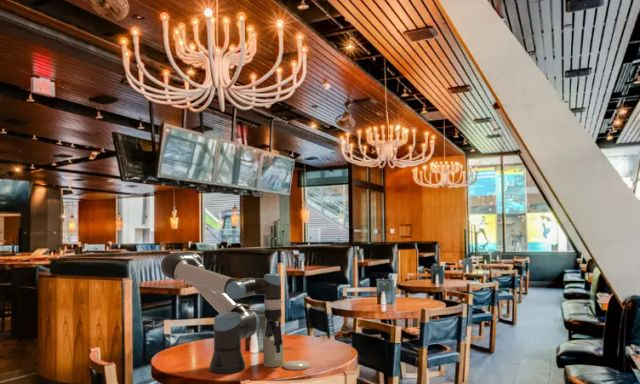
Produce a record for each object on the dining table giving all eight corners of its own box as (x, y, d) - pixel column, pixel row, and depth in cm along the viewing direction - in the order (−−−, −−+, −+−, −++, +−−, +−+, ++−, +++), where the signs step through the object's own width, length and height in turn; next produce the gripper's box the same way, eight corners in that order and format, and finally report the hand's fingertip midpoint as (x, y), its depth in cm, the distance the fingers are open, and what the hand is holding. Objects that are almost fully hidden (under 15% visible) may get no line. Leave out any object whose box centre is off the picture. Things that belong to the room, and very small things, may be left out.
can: (274, 368, 223) (273, 340, 224) (258, 365, 229) (258, 337, 230) (288, 363, 230) (287, 336, 231) (272, 360, 236) (272, 334, 237)
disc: (287, 371, 218) (287, 368, 218) (279, 364, 229) (279, 362, 229) (314, 368, 222) (314, 365, 222) (305, 361, 233) (305, 359, 233)
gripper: (289, 311, 221) (289, 362, 219) (273, 304, 244) (274, 349, 243) (272, 313, 218) (272, 364, 217) (258, 305, 242) (258, 351, 240)
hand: (273, 356), depth 230 cm, fingers open, 13 cm apart
